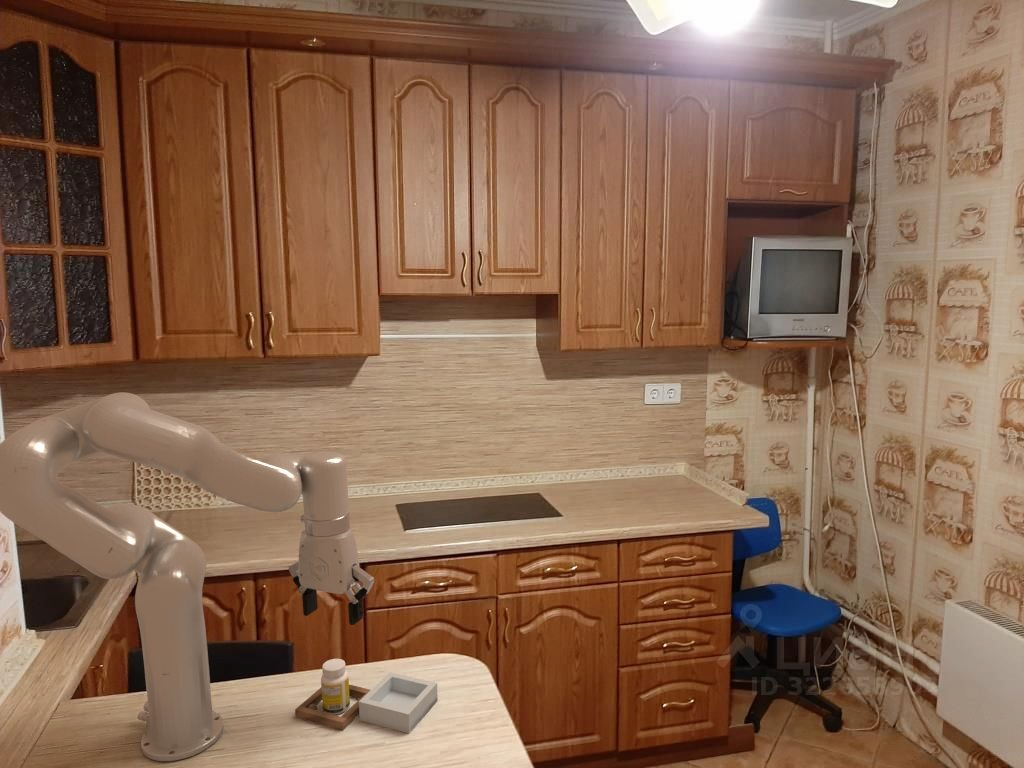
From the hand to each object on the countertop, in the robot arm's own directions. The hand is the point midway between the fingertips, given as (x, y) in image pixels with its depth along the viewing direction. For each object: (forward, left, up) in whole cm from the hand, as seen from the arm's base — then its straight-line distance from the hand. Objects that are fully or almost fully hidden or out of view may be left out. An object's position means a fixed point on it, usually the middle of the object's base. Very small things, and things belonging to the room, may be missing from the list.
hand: (333, 616), depth 125 cm
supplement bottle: (0, 0, -18) cm, 18 cm away
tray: (0, 0, -17) cm, 17 cm away
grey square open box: (+11, +3, -17) cm, 21 cm away
